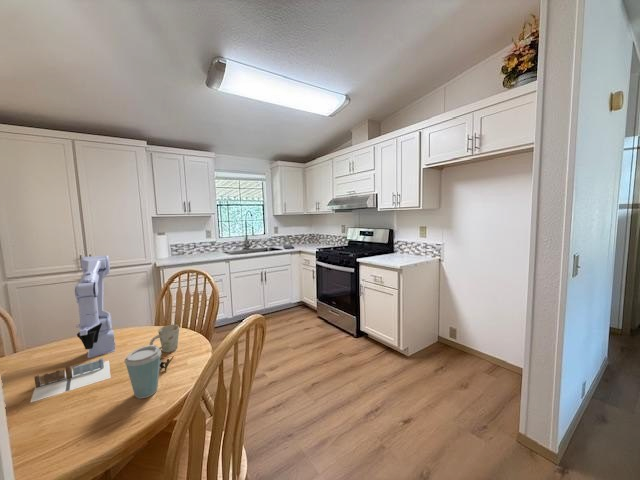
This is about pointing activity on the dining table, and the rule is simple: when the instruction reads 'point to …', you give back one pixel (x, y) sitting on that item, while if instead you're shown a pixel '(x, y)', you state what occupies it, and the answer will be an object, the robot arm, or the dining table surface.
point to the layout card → (71, 382)
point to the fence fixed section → (53, 377)
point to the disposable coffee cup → (144, 370)
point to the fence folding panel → (88, 367)
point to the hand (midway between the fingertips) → (91, 345)
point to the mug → (168, 338)
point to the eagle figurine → (165, 363)
